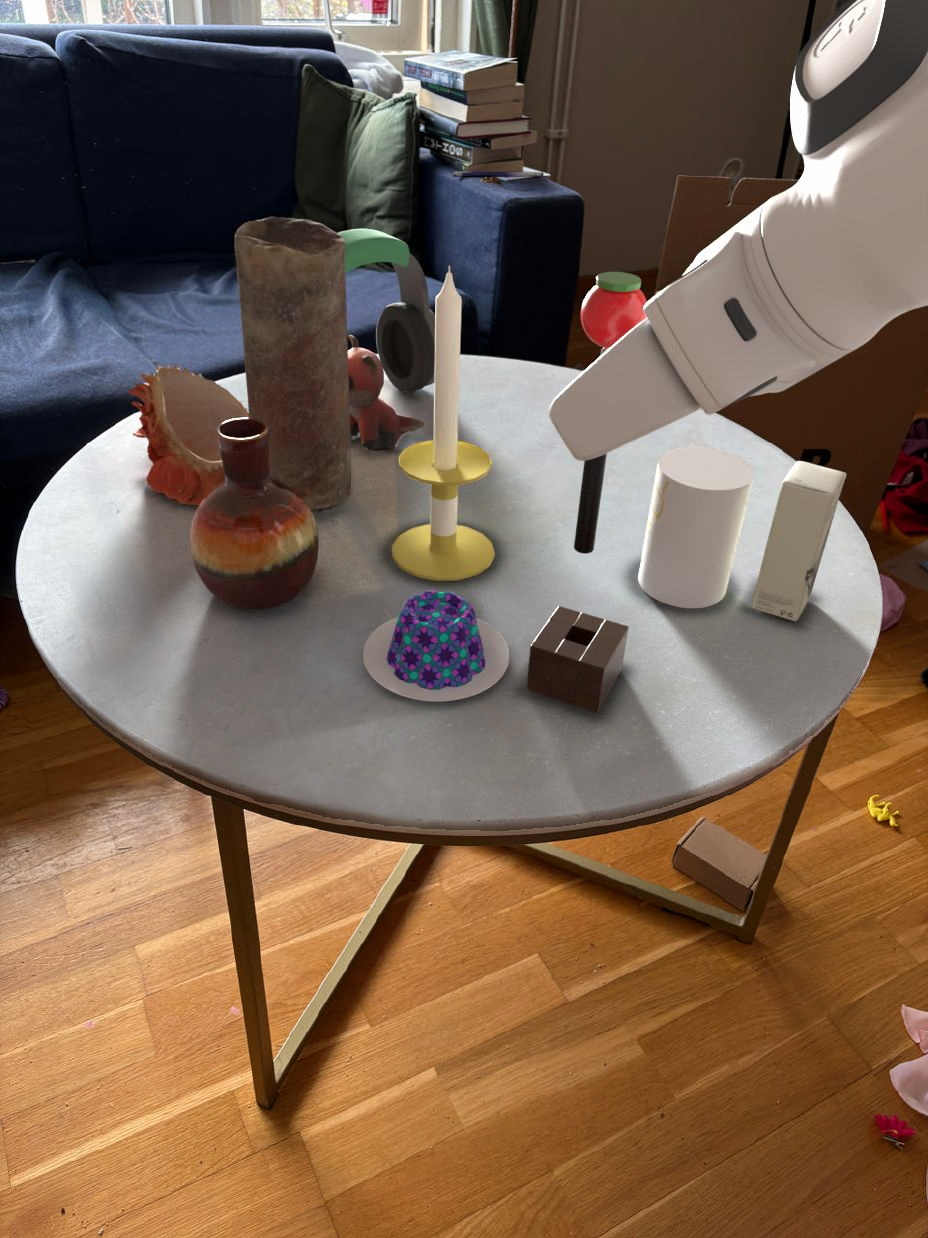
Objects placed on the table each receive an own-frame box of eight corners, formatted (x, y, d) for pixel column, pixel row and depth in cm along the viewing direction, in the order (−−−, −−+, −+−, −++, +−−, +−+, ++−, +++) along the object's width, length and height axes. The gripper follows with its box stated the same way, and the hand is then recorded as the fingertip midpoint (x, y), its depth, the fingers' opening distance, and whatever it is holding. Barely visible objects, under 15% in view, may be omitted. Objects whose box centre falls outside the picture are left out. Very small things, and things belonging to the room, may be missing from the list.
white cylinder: (661, 550, 92) (682, 437, 85) (739, 578, 89) (768, 464, 81) (622, 586, 87) (641, 470, 80) (704, 619, 83) (731, 500, 76)
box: (796, 624, 83) (835, 496, 75) (747, 608, 85) (780, 481, 77) (811, 596, 87) (849, 470, 79) (764, 581, 88) (797, 457, 81)
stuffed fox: (440, 443, 110) (442, 343, 103) (355, 466, 104) (351, 361, 97) (407, 419, 115) (407, 322, 108) (324, 440, 109) (318, 339, 102)
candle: (475, 520, 96) (488, 245, 80) (509, 572, 88) (530, 280, 72) (380, 533, 93) (373, 251, 77) (406, 588, 86) (404, 288, 70)
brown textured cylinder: (339, 472, 103) (326, 212, 87) (368, 515, 96) (359, 239, 80) (246, 487, 100) (214, 219, 84) (269, 533, 93) (239, 249, 77)
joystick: (619, 542, 67) (661, 274, 56) (602, 569, 64) (642, 292, 53) (566, 528, 68) (596, 264, 57) (547, 555, 65) (575, 281, 54)
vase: (289, 632, 80) (273, 469, 71) (173, 607, 82) (143, 445, 73) (341, 565, 88) (332, 411, 79) (234, 544, 91) (214, 392, 82)
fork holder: (621, 670, 77) (629, 626, 74) (597, 713, 73) (604, 668, 70) (553, 648, 79) (558, 605, 76) (526, 689, 75) (530, 645, 72)
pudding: (488, 722, 72) (492, 669, 68) (341, 690, 74) (338, 637, 71) (523, 631, 81) (527, 581, 78) (391, 606, 83) (390, 556, 80)
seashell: (140, 525, 96) (287, 508, 98) (114, 431, 89) (274, 416, 91) (147, 440, 109) (277, 427, 111) (125, 352, 102) (265, 340, 104)
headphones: (405, 369, 128) (405, 213, 116) (452, 397, 121) (456, 234, 109) (279, 399, 118) (264, 232, 106) (322, 431, 111) (311, 257, 99)
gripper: (811, 218, 57) (645, 338, 67) (647, 296, 43) (471, 430, 54) (863, 308, 57) (690, 413, 68) (717, 413, 44) (529, 523, 54)
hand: (592, 422), depth 61 cm, fingers closed on joystick
